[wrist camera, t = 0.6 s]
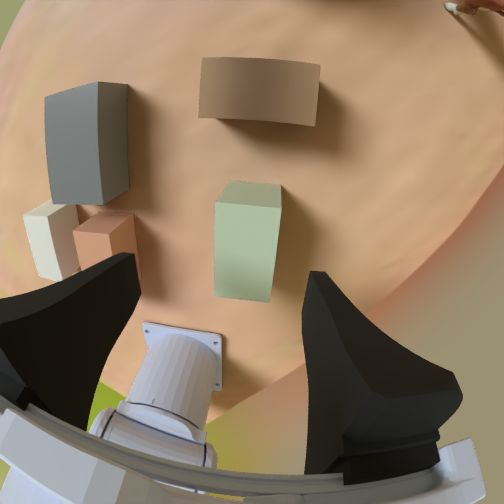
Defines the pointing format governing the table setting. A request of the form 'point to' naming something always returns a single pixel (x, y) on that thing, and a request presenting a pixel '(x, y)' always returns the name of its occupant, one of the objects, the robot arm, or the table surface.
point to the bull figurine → (476, 6)
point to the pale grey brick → (53, 239)
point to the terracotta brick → (105, 238)
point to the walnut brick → (259, 90)
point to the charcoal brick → (87, 143)
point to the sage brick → (246, 240)
